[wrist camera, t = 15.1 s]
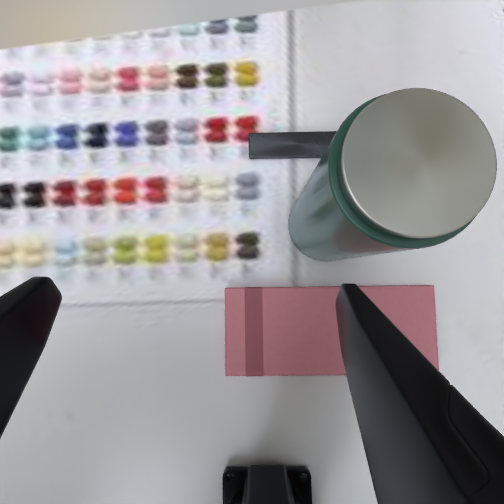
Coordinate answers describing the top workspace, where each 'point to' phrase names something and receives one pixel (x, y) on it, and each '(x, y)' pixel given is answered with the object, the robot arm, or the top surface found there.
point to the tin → (396, 178)
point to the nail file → (289, 144)
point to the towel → (313, 327)
